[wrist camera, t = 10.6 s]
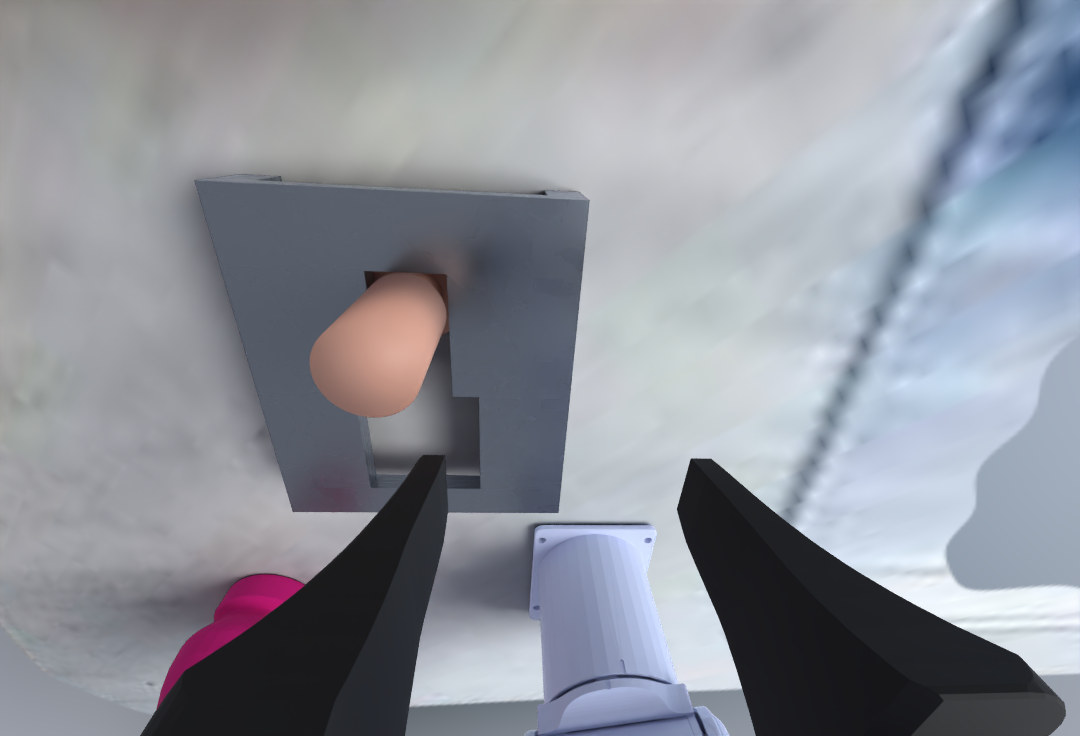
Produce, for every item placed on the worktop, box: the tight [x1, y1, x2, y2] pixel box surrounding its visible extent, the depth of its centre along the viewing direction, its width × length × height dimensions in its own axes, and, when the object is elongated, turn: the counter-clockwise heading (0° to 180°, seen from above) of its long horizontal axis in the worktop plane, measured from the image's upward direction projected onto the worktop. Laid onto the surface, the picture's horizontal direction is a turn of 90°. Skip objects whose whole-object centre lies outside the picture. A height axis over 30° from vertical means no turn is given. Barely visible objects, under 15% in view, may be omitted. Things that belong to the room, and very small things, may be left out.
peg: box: [310, 271, 449, 418], centre depth 16 cm, size 4×4×9 cm
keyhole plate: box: [195, 174, 590, 513], centre depth 21 cm, size 16×14×3 cm
